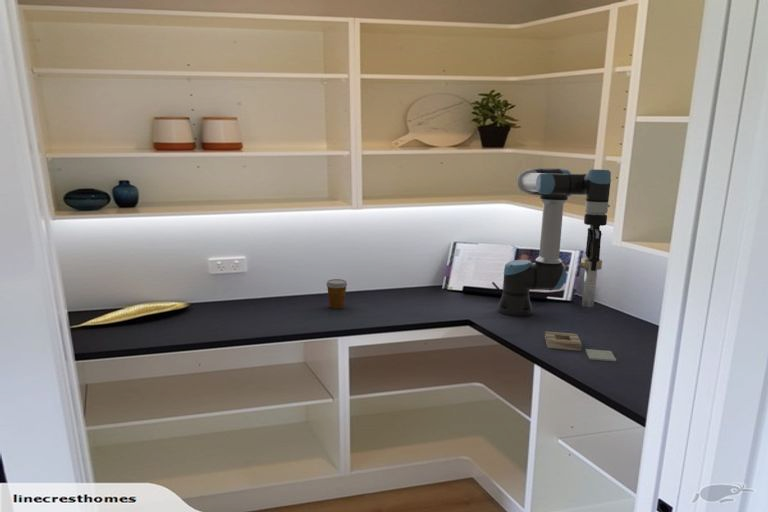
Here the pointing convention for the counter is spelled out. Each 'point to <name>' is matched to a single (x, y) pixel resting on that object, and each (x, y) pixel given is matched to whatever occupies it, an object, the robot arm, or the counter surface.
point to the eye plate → (563, 341)
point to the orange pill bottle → (336, 292)
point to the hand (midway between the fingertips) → (590, 277)
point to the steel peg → (588, 284)
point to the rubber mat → (600, 355)
